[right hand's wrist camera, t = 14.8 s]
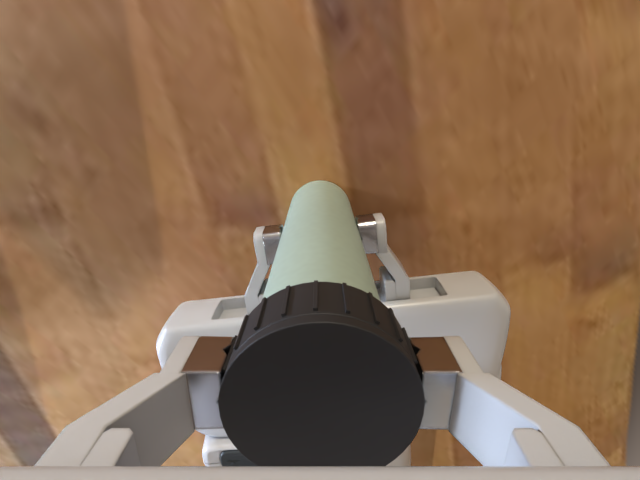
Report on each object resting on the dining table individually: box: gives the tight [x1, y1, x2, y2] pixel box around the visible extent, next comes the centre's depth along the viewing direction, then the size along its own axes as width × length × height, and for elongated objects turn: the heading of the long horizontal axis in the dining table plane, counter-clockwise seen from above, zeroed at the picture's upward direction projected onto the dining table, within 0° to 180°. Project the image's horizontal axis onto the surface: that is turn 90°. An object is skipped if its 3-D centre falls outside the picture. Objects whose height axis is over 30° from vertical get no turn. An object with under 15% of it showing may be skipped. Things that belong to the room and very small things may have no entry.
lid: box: [218, 280, 425, 466], centre depth 10 cm, size 5×5×2 cm
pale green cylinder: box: [262, 180, 380, 301], centre depth 17 cm, size 4×4×18 cm
